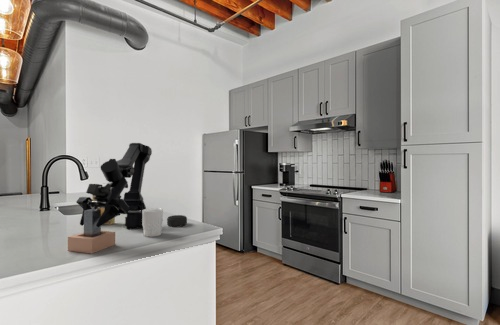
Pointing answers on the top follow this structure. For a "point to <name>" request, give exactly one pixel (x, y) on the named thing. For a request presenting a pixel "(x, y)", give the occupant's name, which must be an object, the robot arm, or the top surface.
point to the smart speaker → (176, 220)
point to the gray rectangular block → (91, 222)
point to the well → (91, 242)
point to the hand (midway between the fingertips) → (89, 225)
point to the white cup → (152, 221)
